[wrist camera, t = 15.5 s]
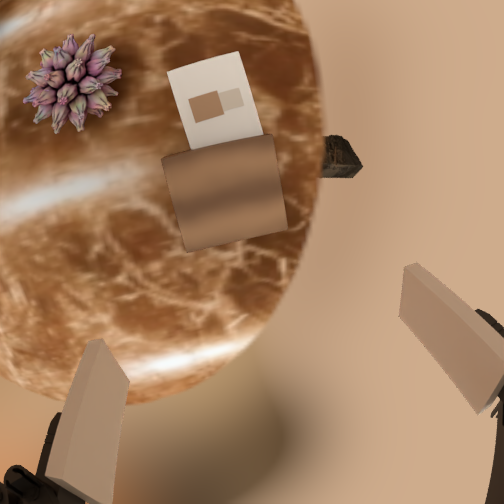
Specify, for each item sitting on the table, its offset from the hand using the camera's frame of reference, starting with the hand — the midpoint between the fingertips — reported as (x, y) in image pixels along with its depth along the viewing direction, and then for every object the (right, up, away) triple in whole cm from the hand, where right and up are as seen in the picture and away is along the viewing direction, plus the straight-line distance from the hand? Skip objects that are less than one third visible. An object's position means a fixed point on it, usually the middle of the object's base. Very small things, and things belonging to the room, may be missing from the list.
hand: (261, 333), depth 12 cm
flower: (-21, +24, +17) cm, 36 cm away
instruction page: (-5, +21, +21) cm, 30 cm away
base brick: (-4, +11, +25) cm, 28 cm away
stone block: (+23, +26, +48) cm, 59 cm away
